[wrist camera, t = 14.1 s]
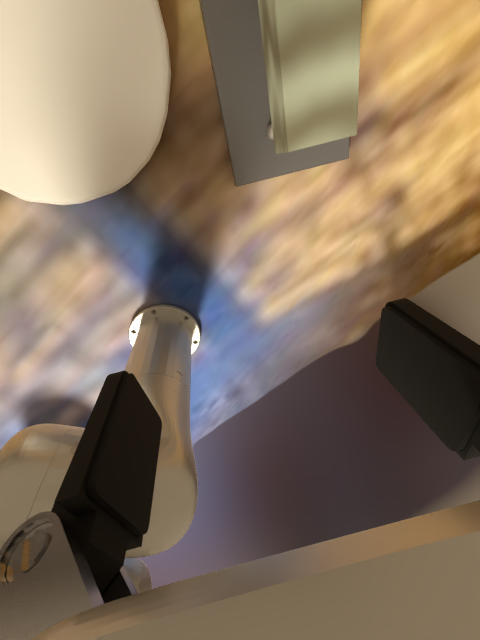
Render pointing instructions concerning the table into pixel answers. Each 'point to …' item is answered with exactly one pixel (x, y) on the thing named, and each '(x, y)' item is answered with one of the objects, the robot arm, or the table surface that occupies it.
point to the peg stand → (251, 96)
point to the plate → (79, 95)
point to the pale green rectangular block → (311, 69)
